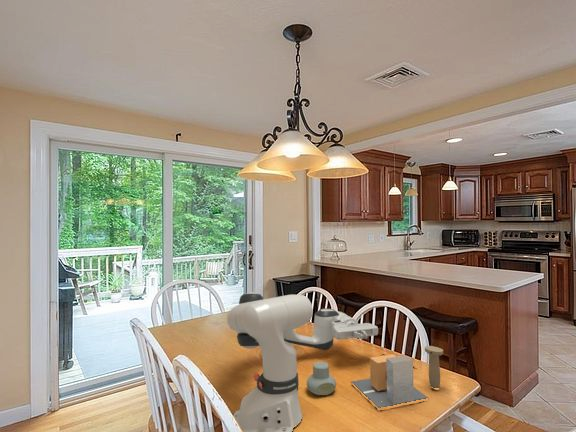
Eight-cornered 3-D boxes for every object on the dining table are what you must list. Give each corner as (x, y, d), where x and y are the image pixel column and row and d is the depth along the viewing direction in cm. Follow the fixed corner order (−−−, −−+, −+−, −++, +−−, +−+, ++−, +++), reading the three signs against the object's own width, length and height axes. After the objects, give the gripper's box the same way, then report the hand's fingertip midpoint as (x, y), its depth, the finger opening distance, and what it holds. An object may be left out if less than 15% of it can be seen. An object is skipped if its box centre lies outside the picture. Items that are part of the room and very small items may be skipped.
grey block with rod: (393, 404, 111) (393, 363, 111) (369, 383, 126) (368, 346, 126) (413, 400, 113) (412, 359, 114) (387, 380, 128) (386, 344, 129)
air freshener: (311, 399, 117) (311, 371, 117) (303, 388, 125) (303, 362, 125) (339, 394, 120) (339, 367, 121) (330, 384, 128) (329, 358, 128)
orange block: (377, 390, 119) (377, 363, 119) (370, 384, 123) (370, 357, 124) (401, 386, 122) (400, 359, 122) (393, 380, 126) (392, 354, 127)
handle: (428, 383, 127) (428, 344, 128) (446, 389, 123) (445, 349, 123) (423, 388, 124) (422, 348, 124) (440, 394, 119) (440, 353, 120)
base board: (378, 411, 109) (378, 407, 109) (351, 384, 128) (351, 381, 128) (428, 400, 115) (428, 397, 115) (395, 376, 133) (395, 373, 133)
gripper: (368, 331, 154) (385, 341, 141) (328, 336, 148) (342, 347, 135) (368, 318, 154) (385, 327, 141) (328, 322, 148) (342, 331, 135)
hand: (364, 337), depth 138 cm, fingers closed
